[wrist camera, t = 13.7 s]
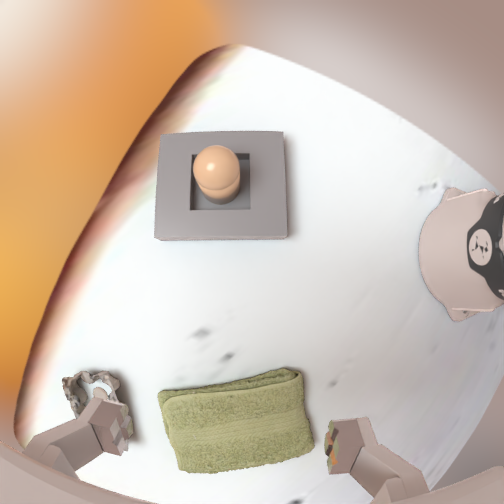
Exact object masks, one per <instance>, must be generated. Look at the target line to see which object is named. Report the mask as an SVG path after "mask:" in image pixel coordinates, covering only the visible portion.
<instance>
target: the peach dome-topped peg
mask: <svg viewBox="0 0 504 504" xmlns="http://www.w3.org/2000/svg"><path fill="white" fill-rule="evenodd" d="M193 173H194V176H195V179H196V181H197V183H198V185H199V187H200V189H201V191H202V193H203V195H204V197H205V198H206V199H207V200H208V201H209V202H211V203H213V204H217V205H223V204H227V203H229V202H231V201H233V200H234V199H235V198H236V197H237V195H238V193H239V191H240V164H239V160H238V158H237V156H236V155H235V153H234V152H233V151H232V150H230V149H229V148H227V147H224V146H220V145H213V146H209V147H207V148H205V149H203V150H202V151H201V152H200V153H199V154H198V155H197V157H196V158H195V161H194V164H193Z"/></svg>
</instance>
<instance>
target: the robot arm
mask: <svg viewBox="0 0 504 504" xmlns="http://www.w3.org/2000/svg"><path fill="white" fill-rule="evenodd" d="M419 263H420V269H421V273H422V276H423V279H424V281H425V283H426V285H427V287H428V289H429V290H430V292H431V293H432V295H433V296H434V297H435V298H436V299H437V300H439V301H440V302H441V303H442V304H443V305H444V306H445V307H446V309H447V311H448V314H449V316H450V317H451V319H452V320H453V321H462V320H464V319H466V318H468V317H471V316H473V315H475V314H477V313H479V312H492V311H494V310H495V308H497V307H499V306H501V305H502V304H504V193H502V194H500V195H499V196H497V195H495V192H493V191H488V190H487V189H480V190H477V191H473V192H470V193H466V192H463V191H461V190H459V189H456V188H449V189H447V190H446V191H445V193H444V195H443V198H442V201H441V203H440V204H439V206H438V207H437V208H435V209H434V210H433V211H432V212H431V213H430V215H429V216H428V217H427V219H426V221H425V223H424V225H423V228H422V231H421V235H420V240H419ZM463 310H464V312H463ZM128 412H129V409H128V406H127V405H125V404H122V403H118V402H114V401H110V400H107V399H102V398H99V397H93V398H92V399H91V400H90V402H89V403H88V405H87V406H86V408H85V409H84V410H83V412H82V413H81V415H80V416H79V418H78V419H73V420H71V421H68V422H66V423H64V424H61V425H59V426H57V427H54V428H52V429H50V430H47V431H45V432H43V433H40V434H38V435H35V436H34V437H33V438H32V440H31V441H30V442H29V444H28V445H27V447H26V448H25V449H24V451H23V452H22V453H21V452H19V451H17V450H16V449H14V448H11V447H10V446H9V445H7V444H5V443H4V442H2V441H0V504H157V503H153V502H149V501H145V500H141V499H137V498H133V497H129V496H126V495H122V494H119V493H116V492H112V491H109V490H106V489H103V488H100V487H97V486H94V485H92V484H89V483H86V482H84V481H81V480H80V479H79V477H78V476H77V474H76V473H75V471H76V470H78V469H79V468H81V467H83V466H84V465H86V464H87V463H89V462H90V461H92V460H93V459H94V458H96V457H97V456H99V455H100V454H102V453H103V451H104V452H107V453H111V454H115V455H119V456H121V455H122V453H123V451H124V449H125V447H126V443H125V440H127V439H129V438H130V436H131V434H132V429H133V423H132V419H131V417H130V416H129V415H128ZM328 427H329V432H328V433H326V437H325V444H324V446H325V454H326V455H327V456H328V457H329V458H328V461H327V465H328V471H329V474H342V473H350V475H351V476H352V477H353V478H354V479H355V480H356V481H357V482H358V483H359V484H360V485H361V486H362V487H363V488H364V489H365V490H366V491H367V492H368V493H369V494H370V495H372V496H373V497H374V499H373V500H372V502H371V503H370V504H504V466H495V467H492V468H490V469H488V470H486V471H484V472H481V473H480V474H477V475H475V476H472V477H470V478H468V479H465V480H462V481H460V482H458V483H455V484H452V485H449V486H447V487H444V488H441V489H438V490H435V491H432V492H430V491H429V489H428V486H427V484H426V482H425V479H424V477H423V474H422V472H421V470H419V469H417V468H416V467H414V466H413V465H411V464H410V463H408V462H407V461H405V460H404V459H402V458H401V457H399V456H398V455H396V454H395V453H393V452H392V451H391V450H389V449H388V448H386V447H385V446H383V445H382V444H380V445H378V443H377V440H376V437H375V434H374V432H373V429H372V426H371V424H370V421H369V419H368V418H367V417H362V418H351V419H340V420H331V421H330V423H329V426H328Z"/></svg>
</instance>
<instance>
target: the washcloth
mask: <svg viewBox="0 0 504 504" xmlns="http://www.w3.org/2000/svg"><path fill="white" fill-rule="evenodd" d="M303 390H304V386H303V378H302V375H301V373H300V372H298V371H290V370H287V369H285V368H281V369H280V370H276V371H269V372H267V373H264V374H260V375H258V376H255V377H252V378H250V379H242V380H238V381H233V382H232V383H229V384H228V383H225V384H223V385H222V384H220V385H211V386H210V385H208V387H207V386H205V387H204V388H202V387H200V388H198V389H189V390H178V391H174V390H172V391H165V390H163V391H161V392H159V393H158V401H159V405H160V408H161V412H162V416H163V422H164V426H165V431H166V434H167V436H168V438H169V440H170V444H171V446H172V447H173V448H174V451H175V454H176V457H177V461H178V468H179V470H181V471H186V472H188V473H209V474H213V473H218V472H224V471H226V472H228V471H229V470H237V469H244V468H249V467H257V466H261V465H265V464H276V463H277V462H283V461H285V460H289V459H291V458H294V457H300V456H301V455H304V454H306V453H309V452H311V450H312V449H313V448H314V446H315V445H314V442H313V439H312V432H310V428H309V427H310V423H309V421H308V420H309V419H307V418H306V416H305V410H304V406H303V402H304V392H303Z"/></svg>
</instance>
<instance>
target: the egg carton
mask: <svg viewBox="0 0 504 504" xmlns="http://www.w3.org/2000/svg"><path fill="white" fill-rule="evenodd" d="M80 376H81V379H82V380H83V381H84V382H86V383H89V384H91V383H94V382H95V381H96V380H98V379H99V378H100V379H101V380H102V382H103V383H106V384H107V385H109V386H110V387H111V389H112V392H111V393H110V394H109V396H108V395H107V393H106V391H105V390H104V389H102V388H101V387H96V388H95V389H94V390H93V395H94V397H99V398H102V399H109V400H110V401H114V402H118V403H122V402H120V401H119V400H118V399H117V396H116V394H115V390H117V389H118V388H119V387H120V383H119V380H118V379H115V378H113V377H112V376H111V375H110V374H109V372H108V371H101V372H100V373H98V374H97V375H92V376H91V375H90V373H87V371H81V372H79V373H77V374H76V375H74V377H64V378H63V379H62V383H63V389H64V391H65V395H66V397H67V400H69V401H70V403H71V408H72V410H73V411H74V414H75V417H76V419H78V418H79V416H80V415H81V413H82V412H83V410H84V409H85V406H84V404H83V403H84V402H85V401H86V400H87V394H86V392H85V391H84V389H82V388H81V387H78V384H77V379H79V378H80ZM122 404H125V403H122ZM133 432H134V431H133V429H132V434H133ZM132 434H131V435H132ZM130 437H131V436H130ZM125 443H126V447H125V449H124V451H128V439H127V440H125Z"/></svg>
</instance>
